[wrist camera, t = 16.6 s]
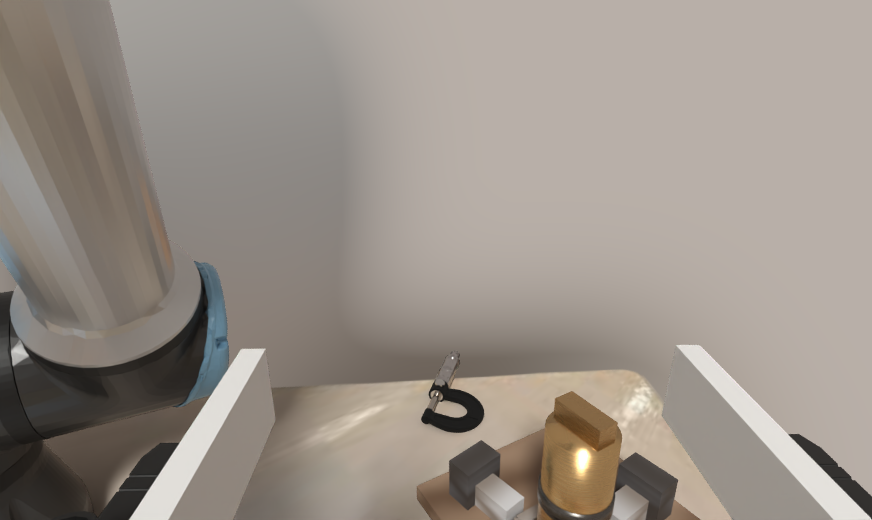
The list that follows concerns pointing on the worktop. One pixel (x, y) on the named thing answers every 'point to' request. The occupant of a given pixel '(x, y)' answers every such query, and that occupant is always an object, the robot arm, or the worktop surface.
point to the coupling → (578, 462)
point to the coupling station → (518, 483)
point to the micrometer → (442, 392)
